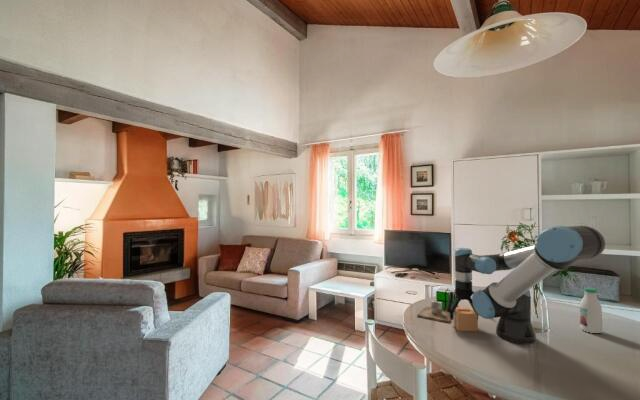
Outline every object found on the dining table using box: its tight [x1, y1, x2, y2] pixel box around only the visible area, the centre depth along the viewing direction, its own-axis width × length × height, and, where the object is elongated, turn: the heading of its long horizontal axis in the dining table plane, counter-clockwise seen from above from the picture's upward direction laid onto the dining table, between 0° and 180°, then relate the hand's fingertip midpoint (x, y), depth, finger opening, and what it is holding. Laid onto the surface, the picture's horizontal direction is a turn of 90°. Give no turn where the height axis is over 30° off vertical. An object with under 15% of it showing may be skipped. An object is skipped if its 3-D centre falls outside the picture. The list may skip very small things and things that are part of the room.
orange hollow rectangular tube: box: [450, 306, 479, 332], centre depth 149 cm, size 9×9×8 cm
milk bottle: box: [579, 286, 603, 334], centre depth 143 cm, size 8×8×20 cm
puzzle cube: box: [435, 286, 459, 310], centre depth 177 cm, size 10×10×10 cm
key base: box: [416, 300, 451, 324], centre depth 165 cm, size 16×16×7 cm
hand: (464, 326), depth 149 cm, fingers open, 9 cm apart
